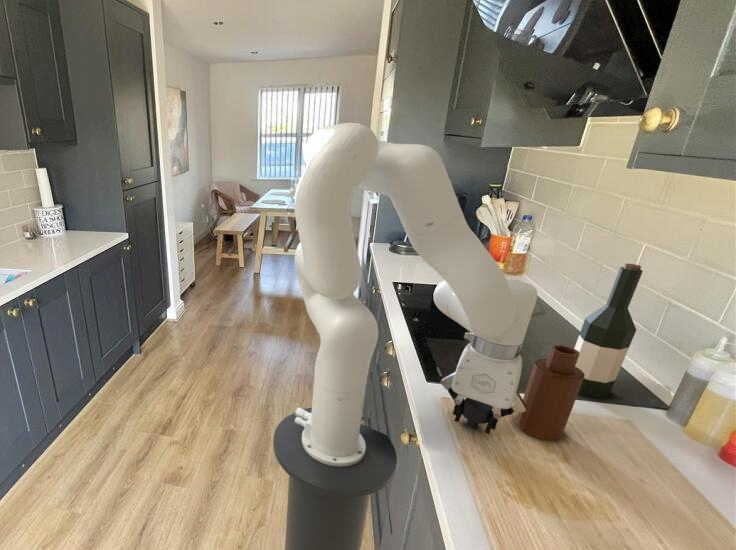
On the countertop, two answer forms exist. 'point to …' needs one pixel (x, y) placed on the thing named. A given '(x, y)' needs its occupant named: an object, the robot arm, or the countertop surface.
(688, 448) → the countertop surface
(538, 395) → the brown bottle
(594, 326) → the wine bottle
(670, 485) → the countertop surface
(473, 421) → the bung
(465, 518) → the countertop surface
